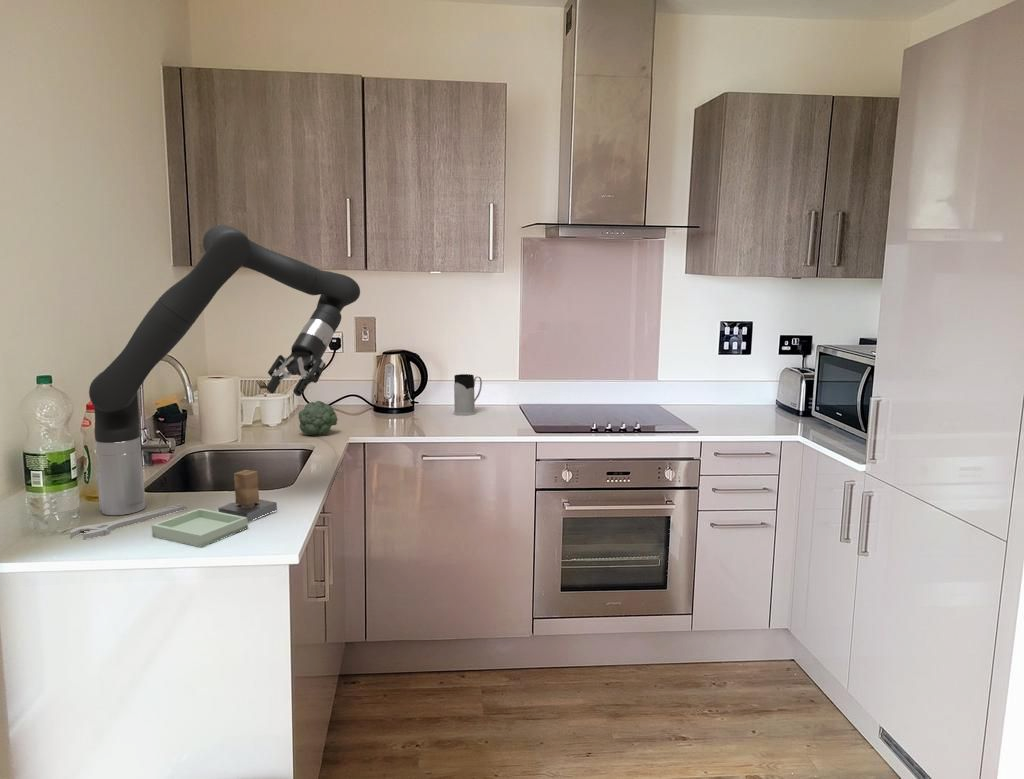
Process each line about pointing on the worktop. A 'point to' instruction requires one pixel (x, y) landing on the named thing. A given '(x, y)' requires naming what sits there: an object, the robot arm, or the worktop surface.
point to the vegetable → (317, 418)
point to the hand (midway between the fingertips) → (282, 392)
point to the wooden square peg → (246, 488)
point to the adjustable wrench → (123, 522)
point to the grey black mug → (465, 394)
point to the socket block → (250, 509)
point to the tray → (199, 527)
